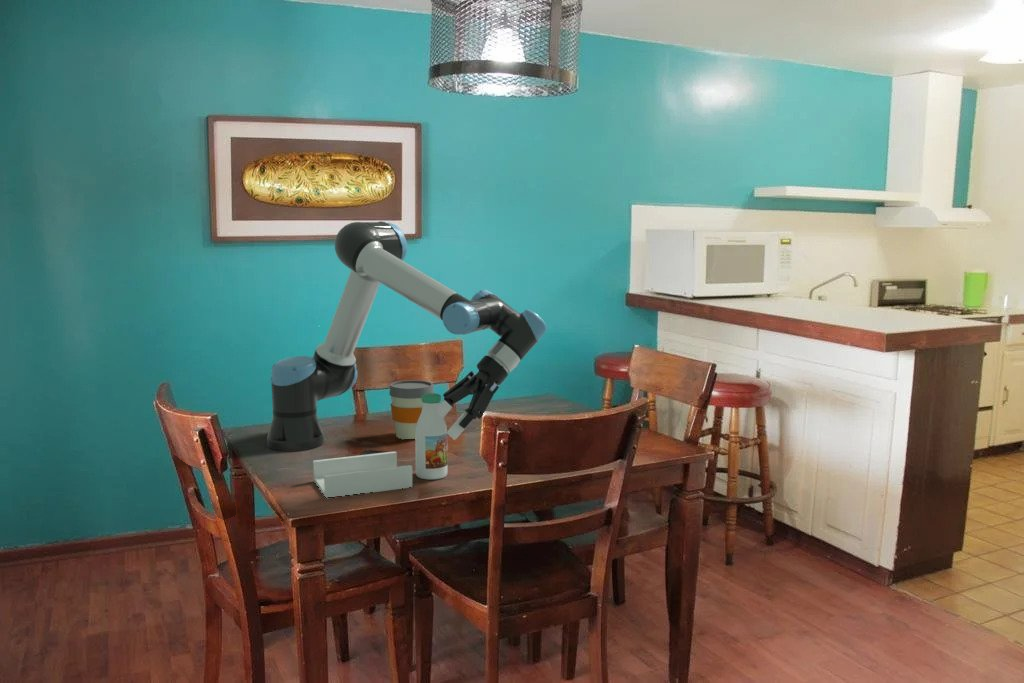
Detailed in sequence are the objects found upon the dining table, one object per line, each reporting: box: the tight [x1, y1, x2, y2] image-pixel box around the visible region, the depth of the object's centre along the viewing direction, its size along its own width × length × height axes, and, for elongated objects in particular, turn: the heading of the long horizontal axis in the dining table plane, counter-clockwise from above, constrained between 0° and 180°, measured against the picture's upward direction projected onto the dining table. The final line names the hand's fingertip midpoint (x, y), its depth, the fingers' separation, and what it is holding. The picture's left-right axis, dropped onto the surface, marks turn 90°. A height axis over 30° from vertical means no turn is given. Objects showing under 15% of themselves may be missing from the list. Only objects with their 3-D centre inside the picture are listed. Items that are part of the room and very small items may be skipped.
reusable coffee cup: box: [389, 379, 435, 440], centre depth 234 cm, size 12×13×15 cm
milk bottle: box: [414, 392, 449, 481], centre depth 198 cm, size 8×8×20 cm
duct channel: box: [312, 451, 413, 499], centre depth 192 cm, size 13×20×5 cm
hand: (440, 429), depth 198 cm, fingers open, 13 cm apart
